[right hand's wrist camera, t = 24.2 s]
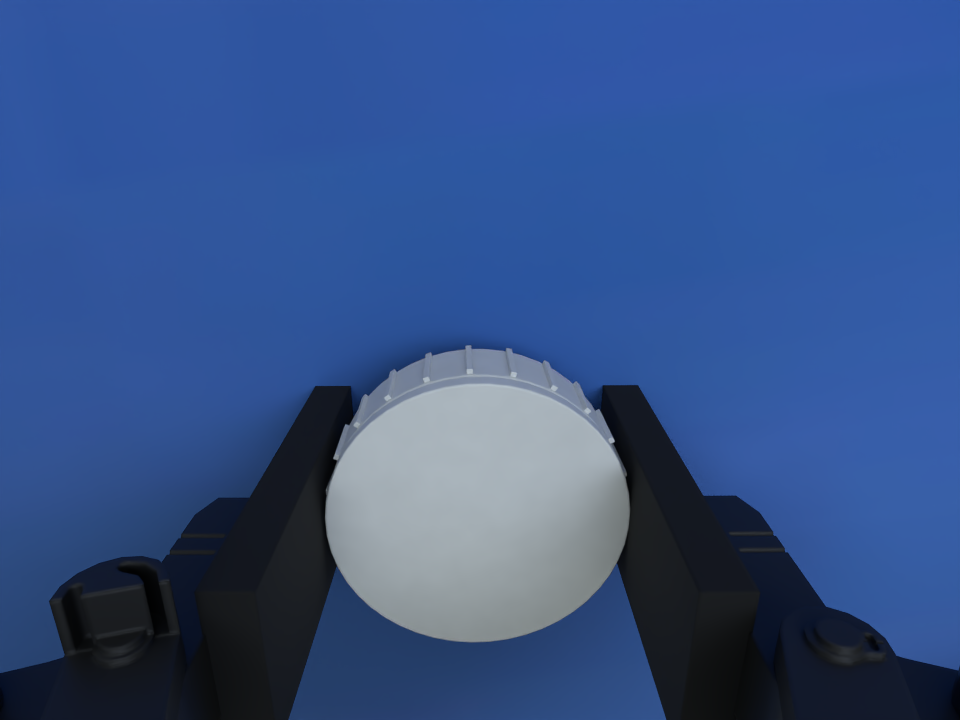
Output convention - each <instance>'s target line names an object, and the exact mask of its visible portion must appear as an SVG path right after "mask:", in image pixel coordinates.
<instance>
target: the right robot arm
mask: <svg viewBox="0 0 960 720" xmlns="http://www.w3.org/2000/svg"><path fill="white" fill-rule="evenodd" d="M601 413H602V415H603V418H604V420H605V422H606V424H607V426H608V428H609V430H610V432H611V434H612V436H613V439H614V441H615V442H613V444H614V446H615V448H616V451H617V453H618V455H619V457H620V459H621V461H622V463H623V466H624V468H625V470H626V473H627V476H626V482H627V486H628V491H629V499H630V518H629V528H628V533H627V537H626V541H625V545H624V547H623V550H622V552H621V555H620V557H619V560H618V561H617V564H618V568H619V571H620V574H621V577H622V580H623V583H624V587H625V590H626V593H627V596H628V599H629V602H630V606H631V609H632V612H633V615H634V618H635V621H636V625H637V628H638V631H639V634H640V637H641V640H642V644H643V647H644V650H645V653H646V656H647V659H648V663H649V666H650V669H651V672H652V675H653V678H654V682H655V685H656V688H657V691H658V694H659V697H660V701H661V704H662V707H663V710H664V713H665V716H666V720H960V667H959V670H958V671H957V670H953V669H949V668H944V667H940V666H936V665H931V664H927V663H922V662H918V661H914V660H909V659H905V658H902V657H898V656H896V654H895V653H894V651H893V650H892V648H891V647H890V645H889V643H888V642H887V640H886V639H885V638H884V637H883V636H882V635H881V634H879V633H878V632H877V631H876V630H875V629H874V628H872V627H871V626H870V625H869V624H867V623H865V622H863V621H862V620H860V619H858V618H856V617H854V616H852V615H850V614H848V613H845V612H842V611H838V610H835V609H832V608H828V607H826V606H825V605H824V603H823V602H822V600H821V599H820V598H819V596H818V595H817V593H816V592H815V591H814V589H813V588H812V586H811V585H810V583H809V582H808V581H807V579H806V578H805V576H804V575H803V574H802V572H801V571H800V569H799V568H798V566H797V565H796V564H795V562H794V561H793V559H792V558H791V557H790V555H789V554H788V553H785V548H784V547H783V545H782V544H781V542H780V541H779V540H778V538H777V537H776V536H774V535H773V531H772V530H771V528H770V527H769V525H768V524H767V523H766V521H765V520H764V518H763V517H762V515H761V514H760V513H759V512H758V511H757V510H755V509H754V508H752V507H751V506H750V505H748V504H747V503H745V502H744V501H743V500H741V499H740V498H738V497H737V496H703V495H702V493H701V491H700V489H699V488H698V486H697V484H696V483H695V481H694V479H693V478H692V476H691V474H690V473H689V471H688V469H687V467H686V466H685V464H684V462H683V461H682V459H681V457H680V456H679V454H678V452H677V451H676V449H675V447H674V446H673V444H672V442H671V440H670V439H669V437H668V435H667V434H666V432H665V430H664V429H663V427H662V425H661V424H660V422H659V420H658V418H657V417H656V415H655V413H654V412H653V410H652V408H651V407H650V405H649V403H648V402H647V400H646V398H645V396H644V395H643V393H642V391H641V390H640V388H639V386H638V385H603V393H602V406H601ZM352 420H353V410H352V397H351V386H315V388H314V390H313V391H312V393H311V395H310V397H309V398H308V400H307V402H306V403H305V405H304V407H303V408H302V410H301V412H300V413H299V415H298V417H297V419H296V420H295V422H294V424H293V425H292V427H291V429H290V430H289V432H288V434H287V435H286V437H285V439H284V441H283V442H282V444H281V446H280V447H279V449H278V451H277V452H276V454H275V456H274V457H273V459H272V461H271V463H270V464H269V466H268V468H267V469H266V471H265V473H264V474H263V476H262V478H261V480H260V481H259V483H258V485H257V486H256V488H255V490H254V491H253V493H252V495H251V496H250V498H218V499H216V500H215V501H214V502H212V503H211V504H209V505H208V506H207V507H205V508H204V509H202V510H201V511H200V512H198V513H197V514H195V516H194V517H193V518H192V520H191V521H190V523H189V524H188V526H187V527H186V528H185V530H184V531H183V533H182V534H181V538H178V540H177V541H176V543H175V544H174V546H173V547H172V548H171V550H170V554H169V555H167V556H166V557H165V558H164V560H163V561H162V563H161V562H160V561H159V560H156V559H152V558H148V557H144V556H135V557H121V558H117V559H113V560H109V561H106V562H102V563H99V564H96V565H94V566H92V567H90V568H88V569H86V570H84V571H82V572H79V573H77V574H76V575H75V576H73V577H72V578H71V579H69V580H68V581H67V582H65V583H64V584H63V585H61V586H60V587H59V589H58V590H57V591H56V593H55V594H54V595H53V597H52V598H51V599H50V601H49V603H50V606H51V609H52V613H53V616H54V620H55V623H56V626H57V630H58V633H59V637H60V640H61V643H62V647H63V650H64V654H65V656H64V657H63V658H60V659H57V660H54V661H50V662H47V663H42V664H38V665H34V666H30V667H25V668H21V669H17V670H13V671H8V672H4V673H0V720H288V719H289V716H290V713H291V709H292V706H293V703H294V700H295V697H296V694H297V690H298V687H299V684H300V681H301V678H302V674H303V671H304V668H305V665H306V662H307V658H308V655H309V652H310V649H311V646H312V643H313V639H314V636H315V633H316V630H317V627H318V623H319V620H320V617H321V614H322V611H323V607H324V604H325V601H326V598H327V595H328V592H329V588H330V585H331V582H332V579H333V576H334V572H335V569H336V566H337V564H336V562H335V559H334V557H333V555H332V553H331V549H330V546H329V542H328V538H327V533H326V524H325V506H326V498H327V495H326V488H327V486H328V483H329V481H330V478H331V476H332V473H333V471H334V468H335V465H336V462H337V460H335V459H333V458H334V455H335V452H336V449H337V446H338V443H339V440H340V437H341V435H342V432H343V429H344V426H345V424H346V425H350V423H351V421H352Z"/></svg>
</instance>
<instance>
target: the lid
mask: <svg viewBox="0 0 960 720" xmlns="http://www.w3.org/2000/svg"><path fill="white" fill-rule="evenodd" d="M465 347H466V349H464V350H457V351H450V352H444V353H441V354H437V355H433V356H432V354H431V352H430V353H427V354H426V355H425V358H424V359H422V360H419V361H417V362H415V363H412V364H410V365H408V366H406V367H405V368H403V369H401V370H399V371H398V372H396V370H395V369H394V370H392V371H391V372H390V375H389V378H388V379H386V380H385V381H384V382H383V383H381V384H380V385H379V386H378V387H377V388H376V389H375V390H374V391H373V392H372V393H371V394H370V395H369V396H368V395H366V394H365V395H364V396H363V397H362V399H361V403H360V406H359V409H358V411H357V412H356V414H355V416H354V418H353V420H352V421H351V423H350V425H346V424H345V426H344V429H343V432H342V435H341V437H340V440H339V443H338V446H337V449H336V452H335V455H334V458H333V459H335V460H337V462H336V465H335V468H334V471H333V473H332V476H331V478H330V481H329V483H328V486H327V488H326V495H327V498H326V506H325V524H326V533H327V538H328V542H329V546H330V549H331V553H332V555H333V557H334V559H335V562H336V564H337V566H338V568H339V570H340V572H341V573H342V575H343V577H344V578H345V580H346V581H347V583H348V584H349V585H350V586H351V588H352V589H353V590H354V591H355V592H356V594H357V595H358V596H359V597H360V598H361V599H362V600H363V601H365V602H366V603H367V604H368V605H369V606H370V607H371V608H372V609H374V610H375V611H377V612H378V613H379V614H381V615H382V616H384V617H385V618H387V619H389V620H391V621H392V622H394V623H396V624H398V625H400V626H402V627H404V628H407V629H409V630H412V631H414V632H416V633H420V634H423V635H427V636H430V637H433V638H439V639H444V640H450V641H460V642H490V641H498V640H505V639H510V638H514V637H518V636H523V635H526V634H529V633H532V632H535V631H537V630H540V629H543V628H545V627H547V626H549V625H551V624H553V623H555V622H557V621H559V620H561V619H562V618H564V617H566V616H567V615H569V614H570V613H572V612H574V611H575V610H576V609H577V608H579V607H580V606H581V605H582V604H584V603H585V602H586V601H587V600H588V599H589V598H590V597H591V596H592V595H593V594H594V593H595V592H596V591H597V590H598V589H599V588H600V587H601V586H602V584H603V583H604V582H605V580H606V579H607V578H608V577H609V575H610V574H611V572H612V570H613V568H614V567H615V565H616V563H617V561H618V560H619V557H620V555H621V552H622V550H623V547H624V545H625V541H626V537H627V533H628V528H629V518H630V499H629V491H628V486H627V482H626V476H627V473H626V470H625V468H624V466H623V463H622V461H621V459H620V457H619V455H618V453H617V451H616V448H615V446H614V444H613V442H615V441H614V439H613V436H612V434H611V432H610V430H609V428H608V426H607V424H606V422H605V420H604V418H603V415H602V413H601V412H600V410H599V409H598V410H596V411H595V410H594V408H593V406H592V405H591V404H590V402H589V401H588V400H587V399H586V397H585V396H584V394H583V391H582V389H581V387H580V385H579V384H578V383H577V382H575V383H574V384H572V383H571V382H570V381H569V380H568V379H566V378H565V377H564V376H562V375H561V374H559V373H558V372H557V371H555V370H554V369H552V368H551V367H550V364H549V362H547V361H545V360H544V361H543V363H540V362H538V361H536V360H533V359H530V358H528V357H525V356H522V355H518V354H514V353H513V352H512V349H509V348H506V351H499V350H490V349H471V345H470V346H465Z"/></svg>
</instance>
